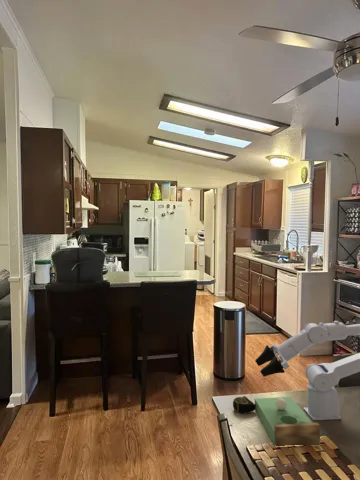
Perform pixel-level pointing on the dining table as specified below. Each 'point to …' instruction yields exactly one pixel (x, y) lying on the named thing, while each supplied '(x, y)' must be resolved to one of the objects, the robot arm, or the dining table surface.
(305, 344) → the robot arm
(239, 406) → the tape measure
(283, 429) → the end rail
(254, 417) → the dining table surface
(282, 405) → the ball
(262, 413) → the green
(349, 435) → the dining table surface
